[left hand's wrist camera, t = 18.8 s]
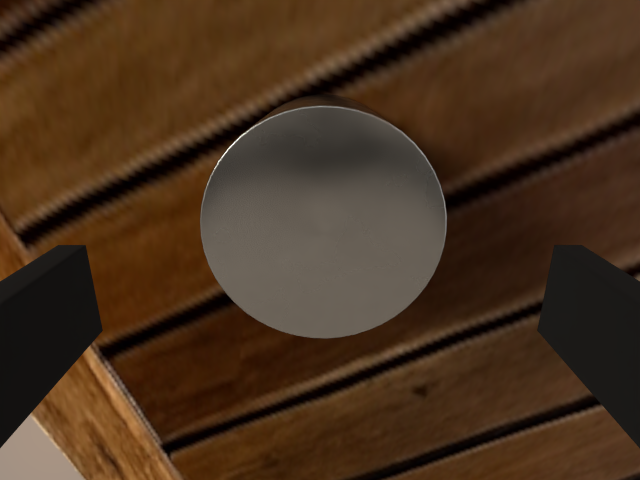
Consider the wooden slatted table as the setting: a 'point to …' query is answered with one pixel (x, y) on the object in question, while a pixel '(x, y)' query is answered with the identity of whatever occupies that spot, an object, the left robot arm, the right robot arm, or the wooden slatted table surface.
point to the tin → (323, 219)
